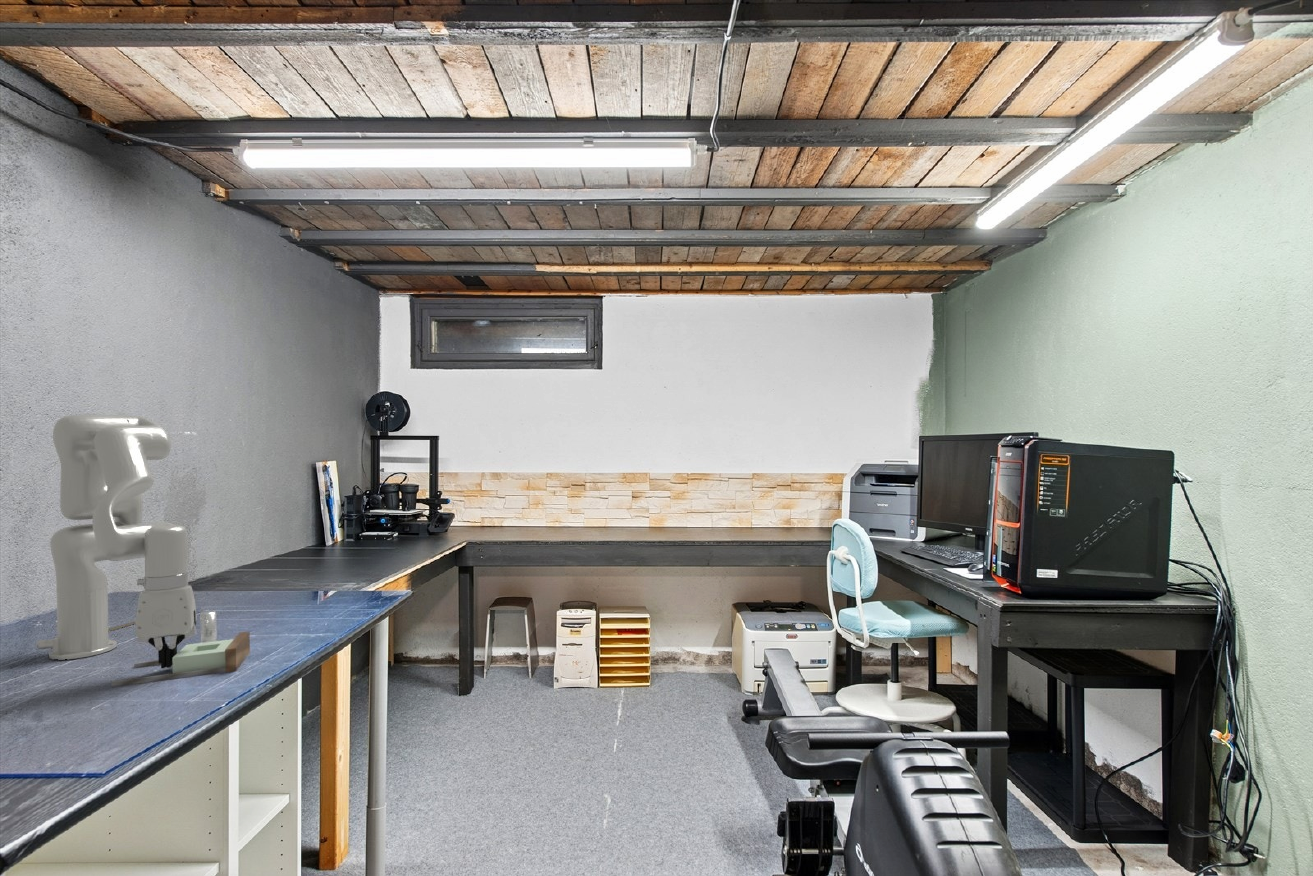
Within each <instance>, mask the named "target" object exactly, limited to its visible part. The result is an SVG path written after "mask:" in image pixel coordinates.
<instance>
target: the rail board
mask: <svg viewBox="0 0 1313 876" xmlns="http://www.w3.org/2000/svg"><path fill="white" fill-rule="evenodd" d="M233 639H234V640H233V641H232V642H231V643H230V644H229V646H228V647H227V648H226V649H225V667H218V668H210V669H203V670H195V671H187V672H179V673H173V672H172V673H166V674H164V673H163V674H158V675H150V676H143V677H142V676H141V677H135V678H127V679H119V680H112V681H111V688H113V687H121V686H129V685H136V684H143V683H144V684H145V683H152V682H161V681H169V680H175V679H181V678H182V679H183V678H190V677H197V676H205V675H212V674H219V673H221V674H222V673H233V672H237V671H238V670H239V668H240V667H241V665H242V664H243V663H244V661H245V660H246V659H247V657H248V656H249V655H250V653H251V642H250V631H241V632H239V633H238V634H237V635H236V636H235V638H233ZM152 666H153V667H154V666H161V664H159V662H158V659H154V660H148V661H138V662H134V667H133V668H134V669H137V668H144V667H146V668H147V667H152Z"/></svg>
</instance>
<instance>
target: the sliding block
mask: <svg viewBox="0 0 1313 876" xmlns="http://www.w3.org/2000/svg"><path fill="white" fill-rule="evenodd" d="M234 639H235V638H233V639H232V638H231V639H225V640H224V639H223V640H217V641H213V642H205V643H201V642H198V643H190V644H189V643H188V644H186V645H184V646H183V647H182V649H180V650H179V651H177V654H176V655H175V656H174V657H173V658H172V660H173V665H172V673H179V672H187V671H195V670H203V669H210V668H218V667H225V649H226V648H227V647H228V646H229V644H230V643H231V642H232V641H233V640H234Z"/></svg>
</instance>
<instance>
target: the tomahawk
mask: <svg viewBox="0 0 1313 876" xmlns="http://www.w3.org/2000/svg"><path fill="white" fill-rule="evenodd" d="M133 624H135V625H136V621H131V622H128V623H125V624H121V625H118V626H114V627H112V628H111V627H110V628H108V633H109V631H110V632H113V631H112V630H114V631H116V630H115V629H117V630H120V629H119V628H121V629H123V628H122V627H124V628H127V627H131V625H132V626H134V625H133Z"/></svg>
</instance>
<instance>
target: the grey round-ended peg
mask: <svg viewBox="0 0 1313 876" xmlns="http://www.w3.org/2000/svg"><path fill="white" fill-rule="evenodd" d="M199 617H200V618H199V620H200V643H205V642H213V641H218V632H217V628H218V627H217V625H218V623H217V621H218V620H217V611H216V610H208V611H203V612H201V613H200V615H199Z"/></svg>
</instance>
